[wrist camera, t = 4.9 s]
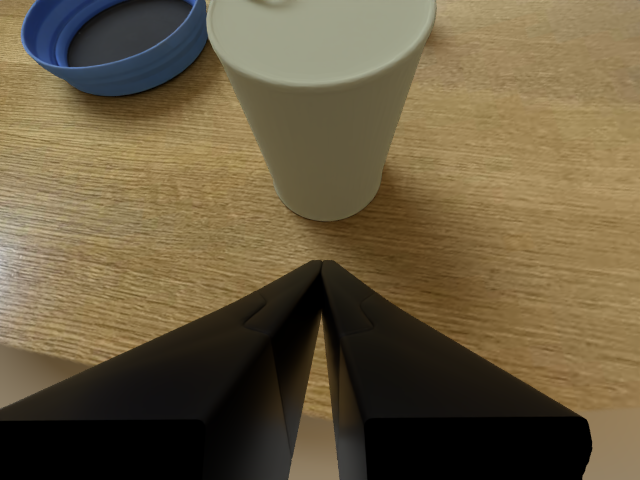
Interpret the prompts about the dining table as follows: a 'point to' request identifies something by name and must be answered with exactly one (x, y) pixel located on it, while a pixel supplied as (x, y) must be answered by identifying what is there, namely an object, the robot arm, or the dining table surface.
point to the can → (322, 89)
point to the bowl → (115, 41)
